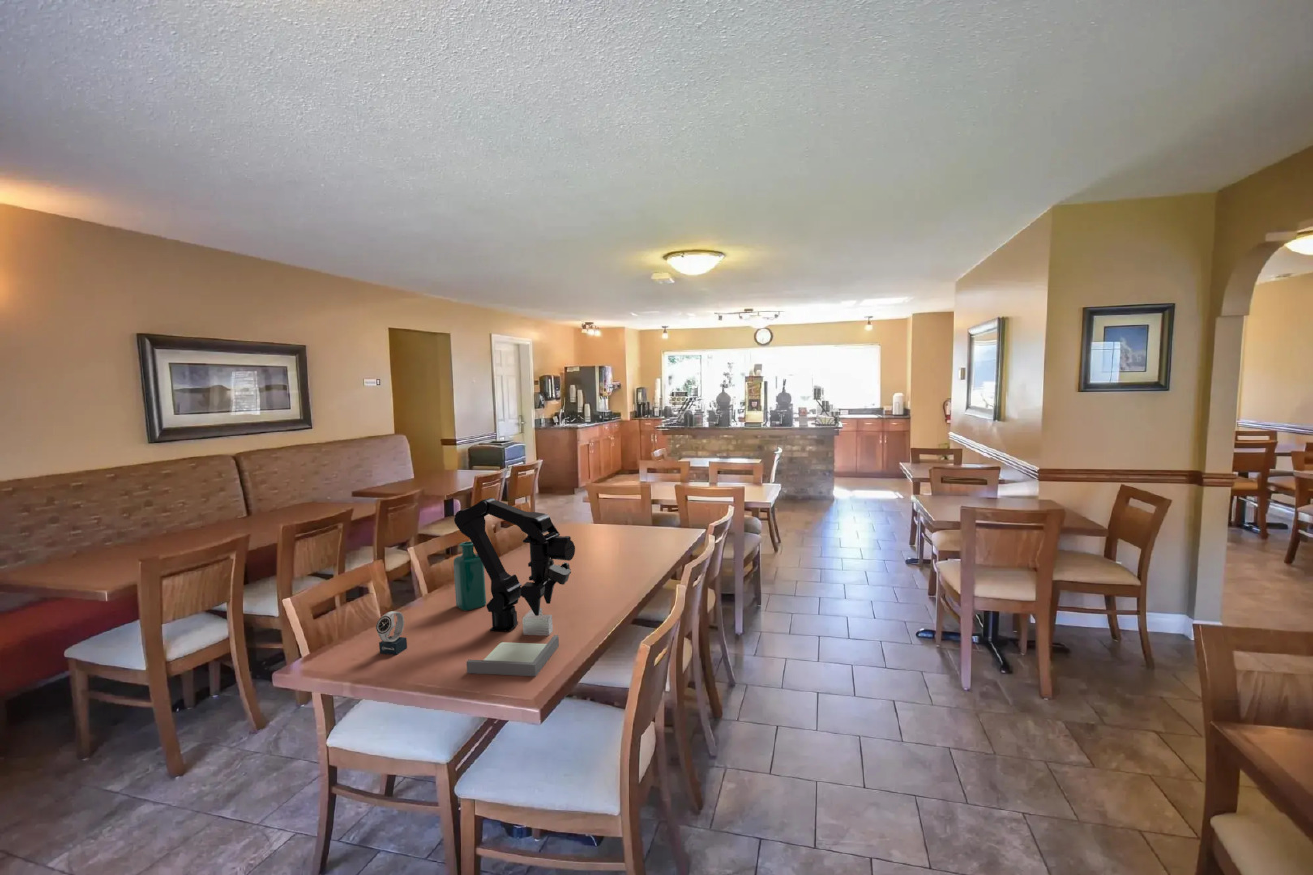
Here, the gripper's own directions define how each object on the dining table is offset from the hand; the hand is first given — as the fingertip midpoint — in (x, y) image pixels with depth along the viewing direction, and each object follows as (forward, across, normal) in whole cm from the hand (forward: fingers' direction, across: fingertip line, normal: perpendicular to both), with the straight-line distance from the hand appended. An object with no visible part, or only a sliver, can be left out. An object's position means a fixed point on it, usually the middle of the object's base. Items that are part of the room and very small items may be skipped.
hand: (542, 609), depth 167 cm
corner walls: (+7, -16, +2) cm, 18 cm away
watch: (+8, -15, +39) cm, 42 cm away
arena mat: (+7, -16, +2) cm, 18 cm away
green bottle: (+8, +20, +33) cm, 39 cm away
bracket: (+7, +2, +2) cm, 8 cm away
